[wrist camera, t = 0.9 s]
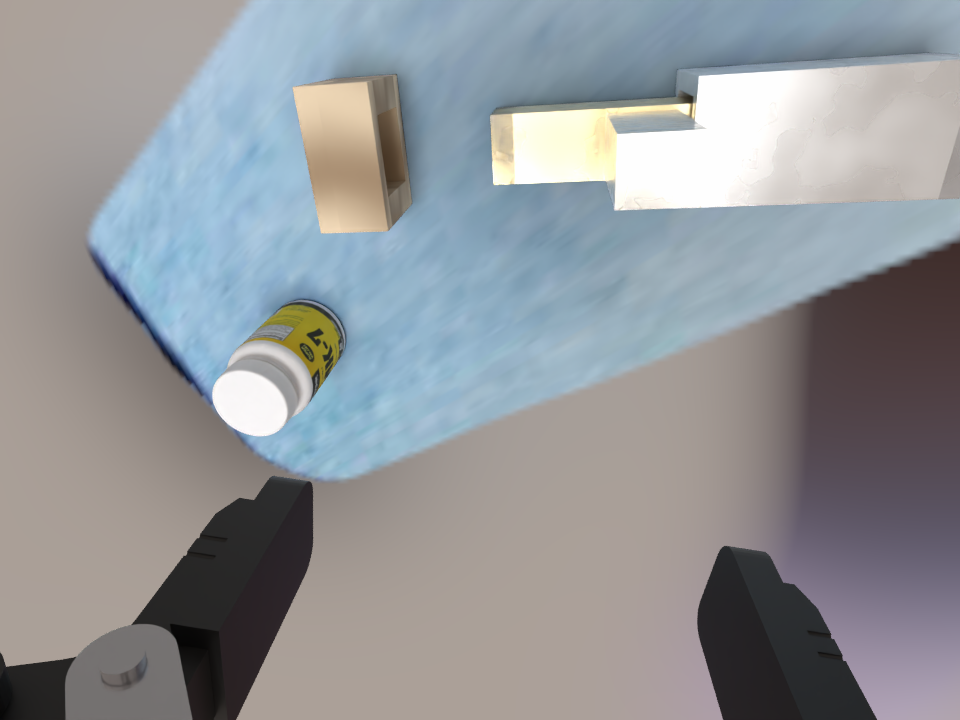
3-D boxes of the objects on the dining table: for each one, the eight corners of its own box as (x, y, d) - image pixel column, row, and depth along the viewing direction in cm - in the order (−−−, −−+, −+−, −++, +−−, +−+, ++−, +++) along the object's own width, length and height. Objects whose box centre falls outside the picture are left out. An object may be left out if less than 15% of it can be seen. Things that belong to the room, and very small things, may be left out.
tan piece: (496, 107, 29) (472, 135, 21) (902, 83, 26) (1046, 105, 18) (499, 171, 30) (477, 220, 22) (884, 154, 28) (1012, 202, 20)
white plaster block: (677, 69, 28) (699, 76, 24) (928, 52, 27) (1003, 57, 22) (668, 182, 30) (686, 208, 26) (897, 172, 29) (959, 198, 24)
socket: (332, 78, 30) (292, 86, 26) (396, 74, 30) (366, 82, 25) (354, 205, 33) (321, 233, 29) (412, 203, 33) (388, 231, 28)
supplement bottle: (353, 365, 38) (304, 444, 31) (284, 366, 39) (219, 444, 32) (338, 296, 36) (282, 363, 29) (265, 298, 37) (191, 364, 29)
